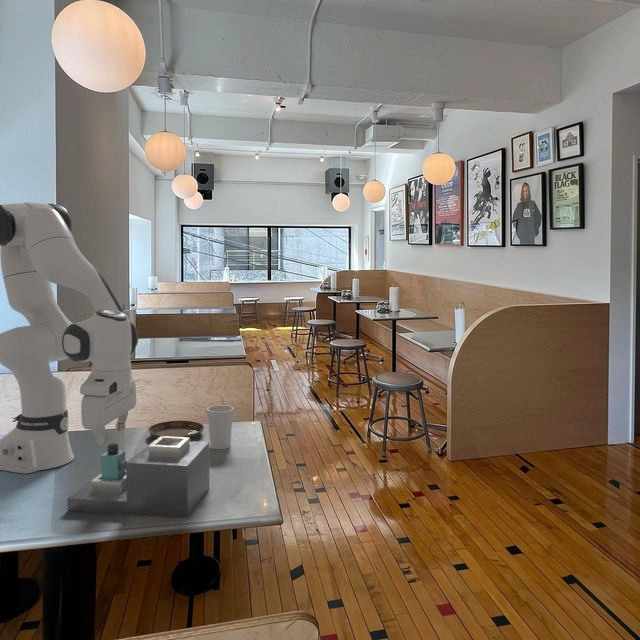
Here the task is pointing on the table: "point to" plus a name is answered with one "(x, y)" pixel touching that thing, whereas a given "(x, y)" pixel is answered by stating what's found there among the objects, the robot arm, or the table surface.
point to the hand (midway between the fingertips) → (111, 436)
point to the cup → (220, 426)
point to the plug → (113, 463)
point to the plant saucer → (176, 429)
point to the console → (152, 482)
